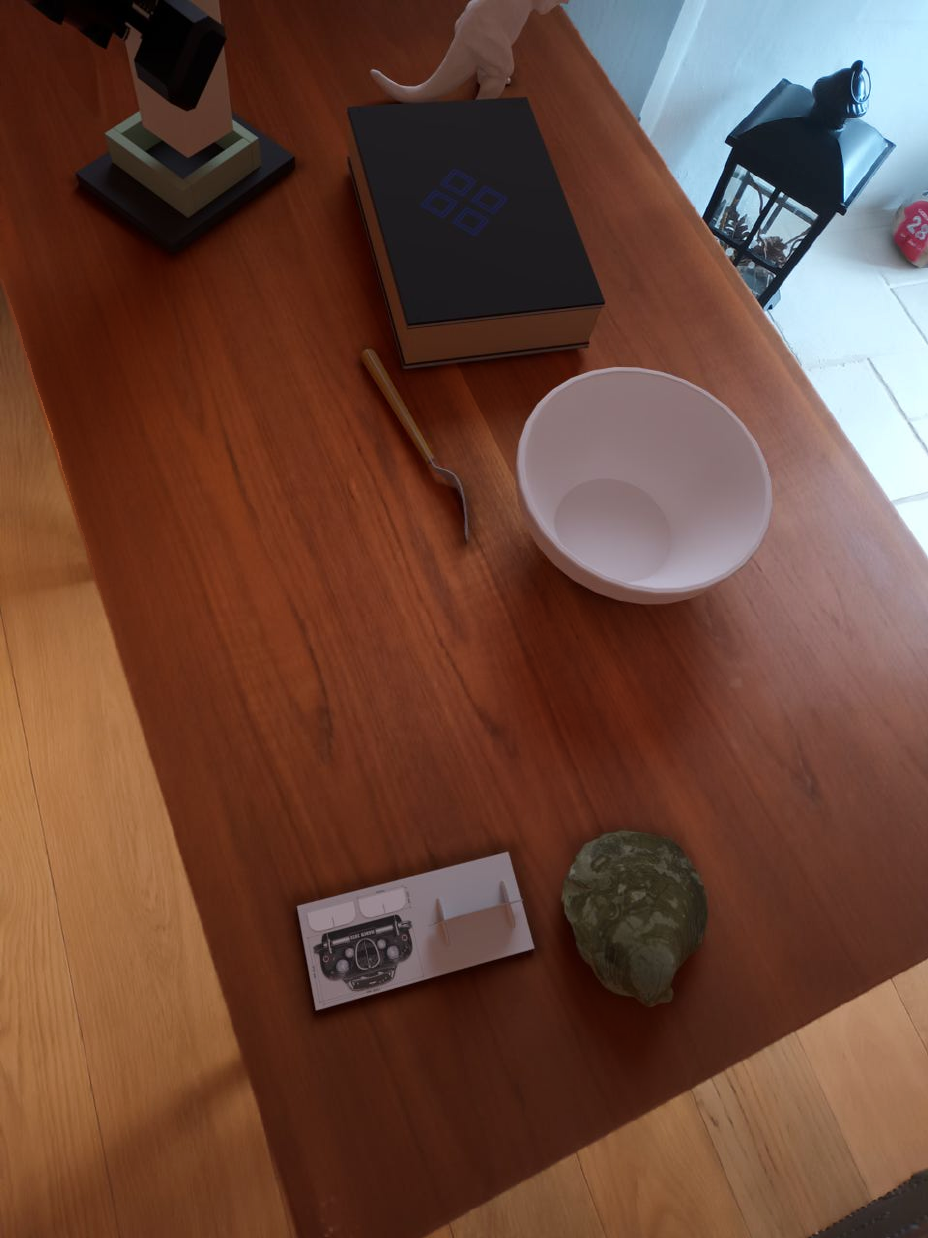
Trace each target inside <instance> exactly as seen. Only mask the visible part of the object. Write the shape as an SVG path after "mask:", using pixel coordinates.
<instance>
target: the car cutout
mask: <svg viewBox="0 0 928 1238" xmlns="http://www.w3.org/2000/svg"><path fill="white" fill-rule="evenodd" d="M523 901H524V899H523V898H522V896H521V893H520V889H519V885H518V881H517V878H516V874H515V870H514V867H513V863H512V859H511V855H510V852H509V851H505V852H500V853H497V854H493V855H489V856H485V857H481V858H477V859H474V860H469V861H466V862H461V863H458V864H454V865H451V866H446V867H442V868H439V869H435V870H430V871H427V872H423V873H419V874H415V875H411V876H408V877H407V876H406V877H403V878H399V879H396V880H391V881H388V882H385V883H380V884H377V885H372V886H369V887H365V888H361V889H357V890H353V891H349V892H346V893H341V894H338V895H333V896H330V897H325V898H321V899H318V900H314V901H310V902H307V903H303V904H299V905H296V909H297V915H298V916H297V917H298V920H299V926H300V931H301V937H302V938H301V939H302V943H303V948H304V954H305V958H306V959H305V960H306V964H307V970H308V975H309V980H310V987H311V992H312V997H313V1003H314V1007H315V1009H314V1010H315V1011H320V1010H324V1009H327V1008H331V1007H333V1006H338V1005H341V1004H345V1003H349V1002H352V1001H355V1000H359V999H362V998H365V997H369V996H373V995H376V994H379V993H382V992H388V991H391V990H394V989H397V988H401V987H405V986H408V985H412V984H415V983H418V982H422V981H426V980H428V979H432V978H436V977H440V976H443V975H446V974H450V973H454V972H457V971H461V970H464V969H468V968H471V967H475V966H478V965H481V964H486V963H490V962H492V961H496V960H499V959H503V958H507V957H509V956H514V955H517V954H520V953H524V952H528V951H531V950H535V945H534V941H533V936H532V934H531V933H532V932H531V929H530V926H529V922H528V919H527V914H526V911H525V906H524V903H523Z"/></svg>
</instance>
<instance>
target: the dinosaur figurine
mask: <svg viewBox="0 0 928 1238" xmlns="http://www.w3.org/2000/svg"><path fill="white" fill-rule="evenodd" d="M569 2H570V0H470V1H469V2H468V3H467V5H466V6H465V9H464V11H463V12H462V13H461V15H460V16H459V18H458V19H456V21H455V24H454V28H453V29H454V38H453V40H452V42H451V43H450V46H449V49H448V50H447V52H446V55H445V57H444V58H443V60H442V61H441V62H440V64H439V66H438V67H437V69H436V70H435V71H434V73H433V74H432V75H431V77H429V78H428V79H427V80H426V81H425V82H423V83H421V84H418V85H414V86H406V85H400V84H398V83H396V82H395V81H393V80H391V79H389V78H388V77H386V75H384V74H382V72H381V71H379V70H376V69H371V70H369V73H370V76H371V78H372V79H373V80H374V81H375V83H376V84H377V85H379V86H380V87H381V89H382V90H383V92H384V93H386V94H387V95H388V96H389V97H391V98H393V100H395V101H398V102H400V103H401V104H406V103H425V102H439V101H441V100H442V99H444V98H446V97H448V96H449V95H451V94H452V93H454V92H455V91H456V90H457V89H459V88H460V87H461V86H463V85H464V83H465V82H466V81H468V80H469V79H470V78H471V77H472V76H474V74H475V73H476V74H477V83H478V84H479V85H480V86H479V91H478V93H477V95H476V97H475V99H474V100H479V99H497V98H500V96H501V94H502V93H503V92H504V90H505V87H506V85H509V84H511V76H512V75H513V73H514V70H515V61H514V56H513V48H512V46H513V45H514V44H515V42H517V39H518V38H519V36H520V34H521V32H522V30H523V28H524V26H525V25H526V23H527V21H528V19H529V16H530V14H531V12H532V11H533V10H535V11H537V12H538V14H539V15H541V16H543V15H546V14H547V13H549V12H551V11H552V9H554V8H555V7H557V6H558V5H561V4H563V5H564V4H565V5H569Z"/></svg>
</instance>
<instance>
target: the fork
mask: <svg viewBox="0 0 928 1238" xmlns="http://www.w3.org/2000/svg"><path fill="white" fill-rule="evenodd" d="M360 357H361V361H362V363H363V364H364V366H365V367H366V369H367V371H368V372H369V374H370V376H371V377H372V378H373V380H374V382H375V383H376V385H377V387H378V388H379V390H380V391H381V393H382V395H383V396H384V398H385V400H386V401H387V402H388V404H389V406H390V407H391V409H392V411H393V413H395V416H396V417H397V418H398V420H399V422H400V424H401V425H402V426H403V428H404V430H405V432H406V433H407V434H408V436H409V438H410V439H411V441H412V443H413V444H414V445H415V448H416V449H417V450H418V452H419V454H420V456H421V457H422V459H423V460H424V461H425V463H426V464H427V465H431V468H432V469H433V471H434V472H435V474H437V475H439V476H441V477H442V478H444V479H446V480H448V481H449V482H450V483H451V484H452V485H453V486H454V487H455V488H456V489H457V491H458V494H459V496H460V497H461V499H462V505H463V514H464V515H463V516H464V535H465V540H466V541H468V539H469V538H468V537H469V533H468V532H469V531H468V530H469V527H468V526H469V525H468V515H467V507H466V499H465V492H464V489H463V486H462V483H461V481H460V479H459V478H458V476H457V475H456V474H455V473H454V472H453V471H450V470H449V469H446V468H442V467H439V466H436V465H435V457H434V455H433V453H432V451H431V450H430V448H429V446H428V444H427V442H426V440H425V438H424V437H423V435H422V433H421V432H420V429H419V427H418V426H417V424H416V422H415V421H414V419H413V417H412V415H411V414H410V412H409V409H408V408H407V406H406V404H405V403H404V401H403V399H402V397H401V395H400V394H399V392H398V390H397V388H396V386H395V385H394V383H393V381H392V380H391V378H390V376H389V374H388V371H386V369H385V367H384V365H383V363H382V361H381V359H380V358H379V356H378V354H377V353H376V351H375V350H374V349H372V348H366V349H364V350H363V351H362V353H361V356H360Z"/></svg>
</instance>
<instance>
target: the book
mask: <svg viewBox="0 0 928 1238" xmlns="http://www.w3.org/2000/svg"><path fill="white" fill-rule="evenodd" d="M346 110H347V112H346V114H347V117H348V123H349V124H348V125H349V126H348V127H349V129H348V130H349V131H348V139H349V140H348V156H346V164H347V167H348V171H349V172H348V173H349V175H350V179H351V182H352V186H353V190H354V194H355V197H356V201H357V204H358V209H359V212H360V216H361V220H362V222H363V226H364V230H365V234H366V237H367V240H368V241H367V242H368V244H369V249H370V253H371V256H372V260H373V263H374V267H375V271H376V275H377V279H378V282H379V285H380V289H381V293H382V297H383V300H384V304H385V308H386V312H387V315H388V319H389V323H390V326H391V329H392V333H393V337H394V342H395V345H396V348H397V352H398V356H399V359H400V363H401V367H402V370H403V371H407V370H415V369H423V368H431V367H439V366H447V365H456V364H464V363H473V362H479V361H481V362H482V361H488V360H496V359H498V360H499V359H506V358H514V357H522V356H530V355H539V354H546V353H555V352H564V351H571V350H580V349H588V348H589V345H590V341H589V340H590V338H591V335H592V333H593V331H594V328H595V325H596V322H597V320H598V317H599V315H600V312H601V310H602V308H605V305H606V300H605V297H604V295H603V292H602V289H601V286H600V285H599V282H598V279H597V275H596V274H595V271H594V269H593V266H592V263H591V261H590V257H589V256H588V252H587V250H586V247H585V245H584V243H583V240H582V238H581V235H580V232H579V229H578V227H577V225H576V221H575V219H574V216H573V214H572V211H571V209H570V206H569V203H568V201H567V198H566V196H565V192H564V190H563V187H562V185H561V182H560V180H559V177H558V174H557V172H556V168H555V167H554V164H553V162H552V158H551V156H550V153H549V151H548V149H547V146H546V143H545V140H544V138H543V135H542V133H541V130H540V128H539V125H538V122H537V119H536V117H535V115H534V112H533V108H532V106H531V103H530V101H529V99H528V97H527V96H518V97H517V96H515V97H497V98H496V99H479V100H475V99H465V100H464V99H461V100H446V101H436V102H425V103H395V104H394V103H390V104H389V103H388V104H374V105H372V104H371V105H370V104H369V105H355V106H354V105H352V106H347V108H346Z"/></svg>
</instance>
